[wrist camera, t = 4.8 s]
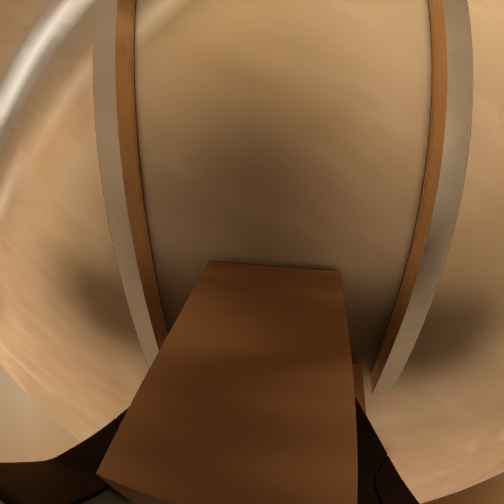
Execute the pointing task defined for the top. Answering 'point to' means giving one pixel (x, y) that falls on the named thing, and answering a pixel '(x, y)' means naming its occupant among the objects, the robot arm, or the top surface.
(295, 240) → the top surface
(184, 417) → the brown wooden block
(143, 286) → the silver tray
